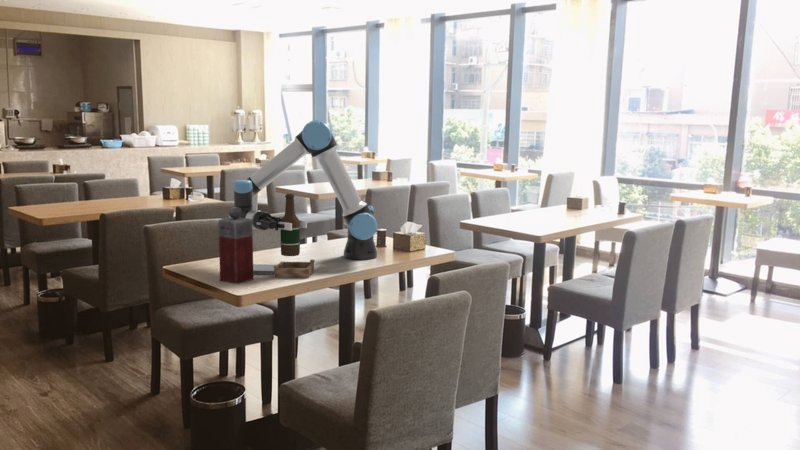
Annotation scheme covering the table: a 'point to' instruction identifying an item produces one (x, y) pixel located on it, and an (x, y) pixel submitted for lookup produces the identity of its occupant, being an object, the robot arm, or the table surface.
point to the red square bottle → (235, 248)
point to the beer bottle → (291, 238)
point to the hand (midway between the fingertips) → (298, 225)
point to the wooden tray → (294, 269)
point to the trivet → (263, 269)
